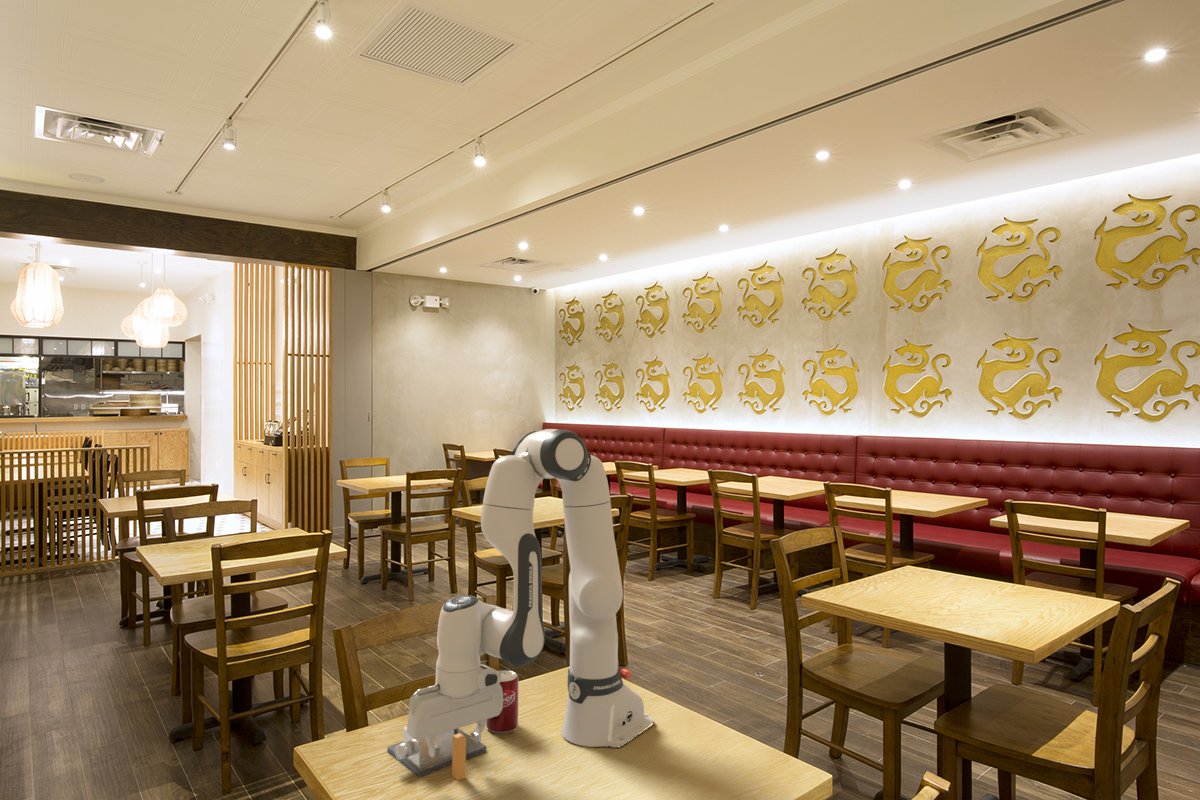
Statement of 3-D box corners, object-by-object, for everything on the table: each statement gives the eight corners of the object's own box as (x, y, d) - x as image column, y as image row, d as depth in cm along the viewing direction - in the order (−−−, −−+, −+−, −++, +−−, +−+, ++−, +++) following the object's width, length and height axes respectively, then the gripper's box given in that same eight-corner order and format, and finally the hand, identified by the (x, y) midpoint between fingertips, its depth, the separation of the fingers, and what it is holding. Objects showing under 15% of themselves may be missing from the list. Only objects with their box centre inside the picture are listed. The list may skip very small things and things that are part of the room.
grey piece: (454, 725, 162) (455, 665, 162) (491, 749, 151) (492, 684, 151) (373, 752, 148) (374, 687, 149) (407, 781, 137) (409, 710, 138)
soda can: (511, 736, 157) (512, 683, 157) (481, 733, 158) (482, 680, 159) (521, 722, 164) (522, 671, 164) (492, 719, 165) (493, 668, 166)
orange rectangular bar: (458, 772, 141) (459, 733, 141) (465, 777, 139) (466, 737, 139) (452, 775, 140) (452, 735, 140) (458, 780, 138) (459, 739, 138)
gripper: (417, 697, 131) (415, 771, 130) (508, 672, 144) (505, 739, 144) (402, 686, 135) (399, 757, 135) (491, 664, 149) (489, 728, 149)
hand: (455, 748), depth 140 cm, fingers open, 8 cm apart
